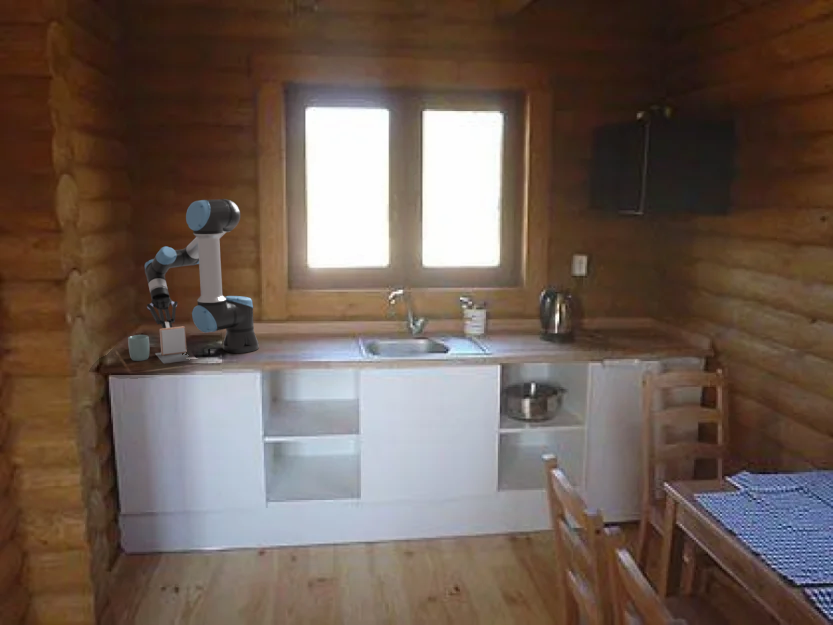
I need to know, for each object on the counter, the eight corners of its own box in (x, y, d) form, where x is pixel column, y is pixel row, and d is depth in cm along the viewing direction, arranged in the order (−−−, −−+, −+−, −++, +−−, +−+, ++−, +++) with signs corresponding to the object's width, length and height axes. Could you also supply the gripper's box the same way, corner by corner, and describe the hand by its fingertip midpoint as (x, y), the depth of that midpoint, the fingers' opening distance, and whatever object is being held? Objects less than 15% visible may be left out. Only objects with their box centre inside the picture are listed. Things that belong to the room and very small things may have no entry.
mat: (155, 355, 313) (154, 353, 313) (188, 351, 320) (188, 349, 320) (163, 365, 298) (163, 363, 298) (199, 360, 305) (198, 359, 305)
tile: (161, 354, 312) (159, 328, 309) (185, 351, 317) (184, 326, 314) (162, 355, 310) (160, 329, 308) (186, 352, 315) (185, 327, 312)
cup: (143, 357, 310) (141, 333, 308) (153, 360, 306) (152, 336, 304) (126, 361, 305) (124, 337, 302) (136, 364, 300) (134, 340, 298)
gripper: (173, 295, 333) (184, 339, 322) (142, 297, 326) (152, 342, 316) (175, 285, 327) (186, 329, 316) (144, 287, 321) (154, 333, 310)
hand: (169, 336), depth 316 cm, fingers closed
